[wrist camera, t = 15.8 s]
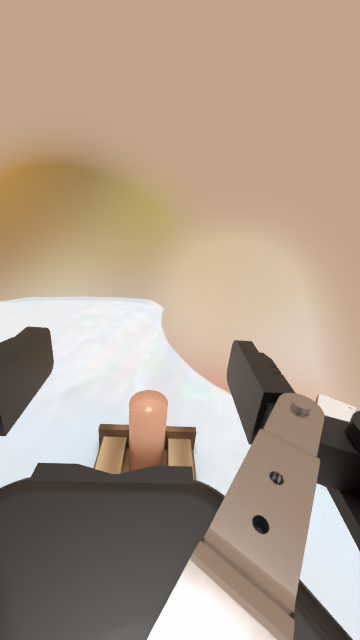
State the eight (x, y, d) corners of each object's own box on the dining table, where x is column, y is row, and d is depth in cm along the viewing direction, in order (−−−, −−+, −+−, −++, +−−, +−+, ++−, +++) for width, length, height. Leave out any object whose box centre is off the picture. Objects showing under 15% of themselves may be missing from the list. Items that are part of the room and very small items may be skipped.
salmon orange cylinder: (126, 482, 35) (126, 416, 30) (131, 451, 39) (131, 389, 35) (162, 482, 35) (167, 417, 31) (162, 451, 40) (167, 390, 35)
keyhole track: (55, 604, 24) (50, 580, 22) (101, 445, 41) (100, 423, 39) (208, 601, 25) (215, 578, 24) (192, 447, 42) (195, 427, 40)
